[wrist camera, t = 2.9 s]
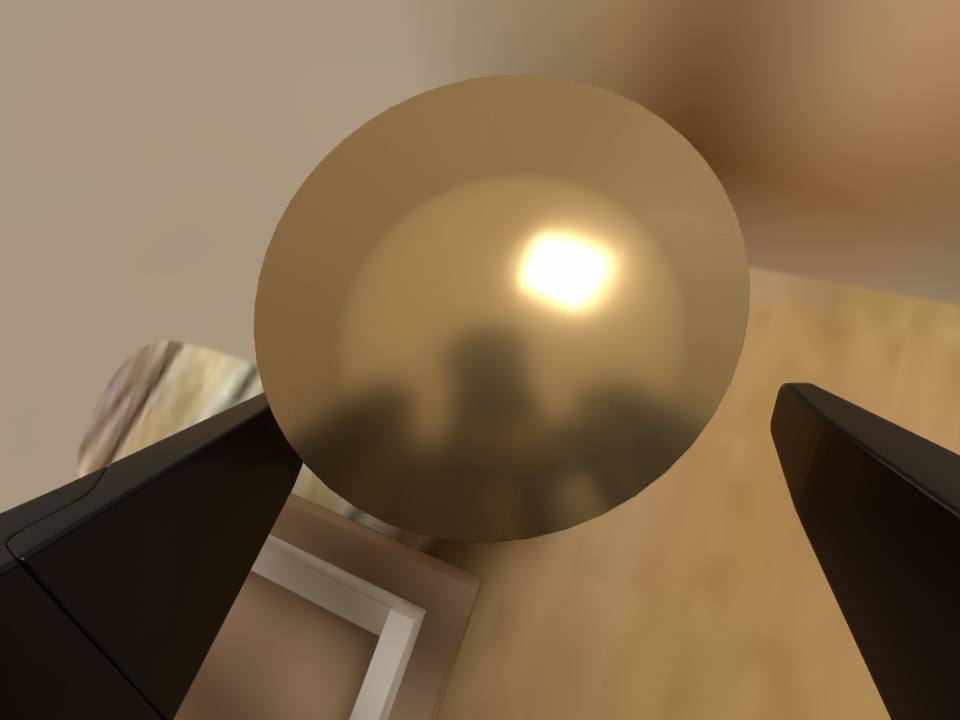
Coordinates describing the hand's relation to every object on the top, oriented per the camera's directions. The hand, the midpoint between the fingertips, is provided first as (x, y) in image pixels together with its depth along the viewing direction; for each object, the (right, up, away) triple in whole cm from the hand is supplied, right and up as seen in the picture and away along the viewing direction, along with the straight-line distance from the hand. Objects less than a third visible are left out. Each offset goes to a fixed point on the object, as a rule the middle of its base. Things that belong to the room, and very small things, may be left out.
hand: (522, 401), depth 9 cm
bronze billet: (+2, -2, +8) cm, 8 cm away
